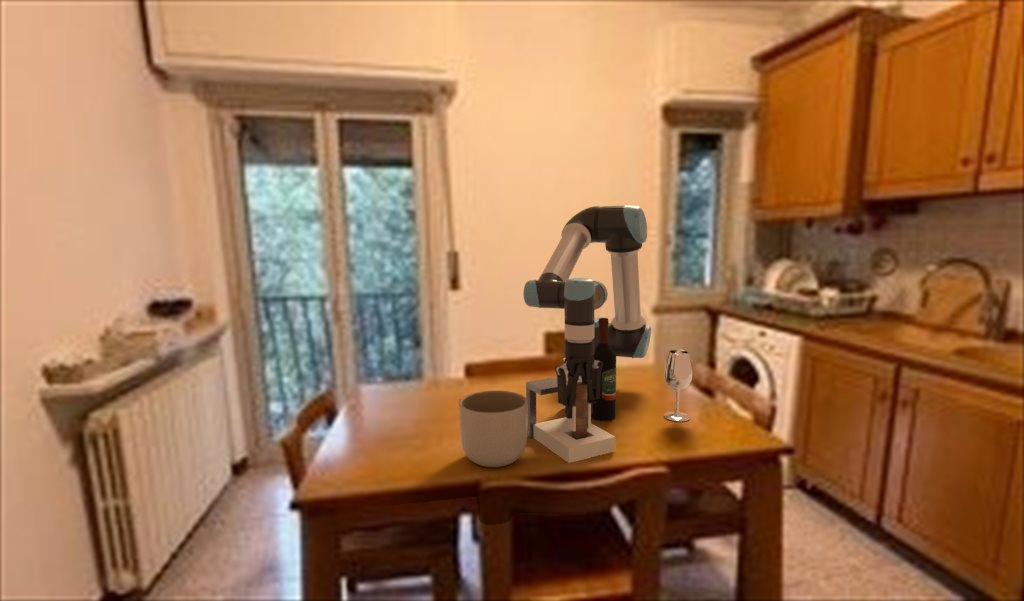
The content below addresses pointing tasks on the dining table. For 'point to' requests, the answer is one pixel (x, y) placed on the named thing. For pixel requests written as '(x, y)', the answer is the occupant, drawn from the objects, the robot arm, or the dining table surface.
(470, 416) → the planter
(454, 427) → the dining table surface
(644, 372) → the dining table surface
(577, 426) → the peg
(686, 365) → the wineglass
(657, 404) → the dining table surface
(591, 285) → the robot arm
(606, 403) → the wine bottle
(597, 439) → the socket deck
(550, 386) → the gray arch stand
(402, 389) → the dining table surface
